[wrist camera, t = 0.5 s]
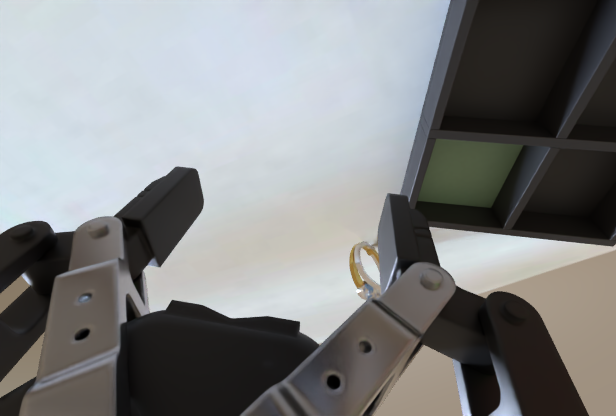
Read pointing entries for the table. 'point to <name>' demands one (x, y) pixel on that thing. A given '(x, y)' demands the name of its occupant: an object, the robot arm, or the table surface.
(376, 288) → the ring
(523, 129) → the organizer
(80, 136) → the table surface
